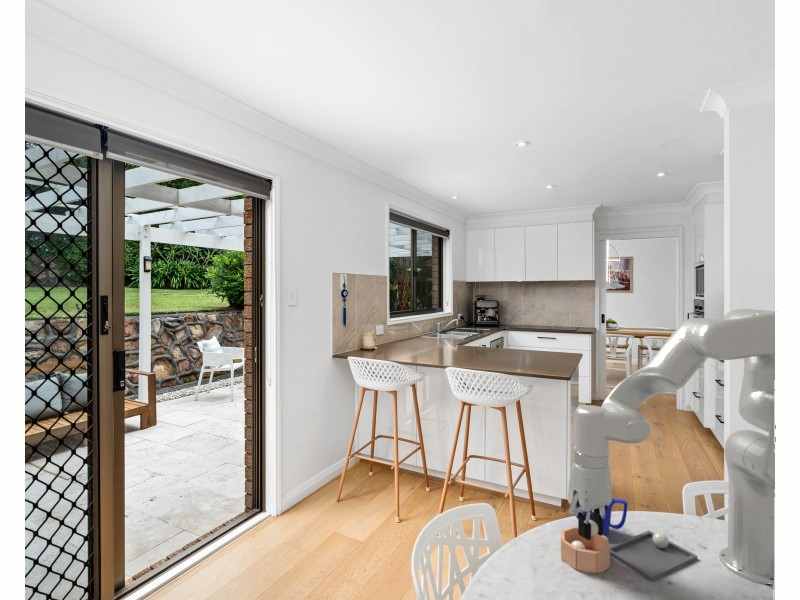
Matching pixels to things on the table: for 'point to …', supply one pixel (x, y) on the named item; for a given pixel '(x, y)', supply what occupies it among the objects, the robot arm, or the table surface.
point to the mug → (608, 516)
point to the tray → (650, 556)
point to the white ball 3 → (660, 540)
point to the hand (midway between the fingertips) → (590, 534)
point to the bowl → (585, 551)
